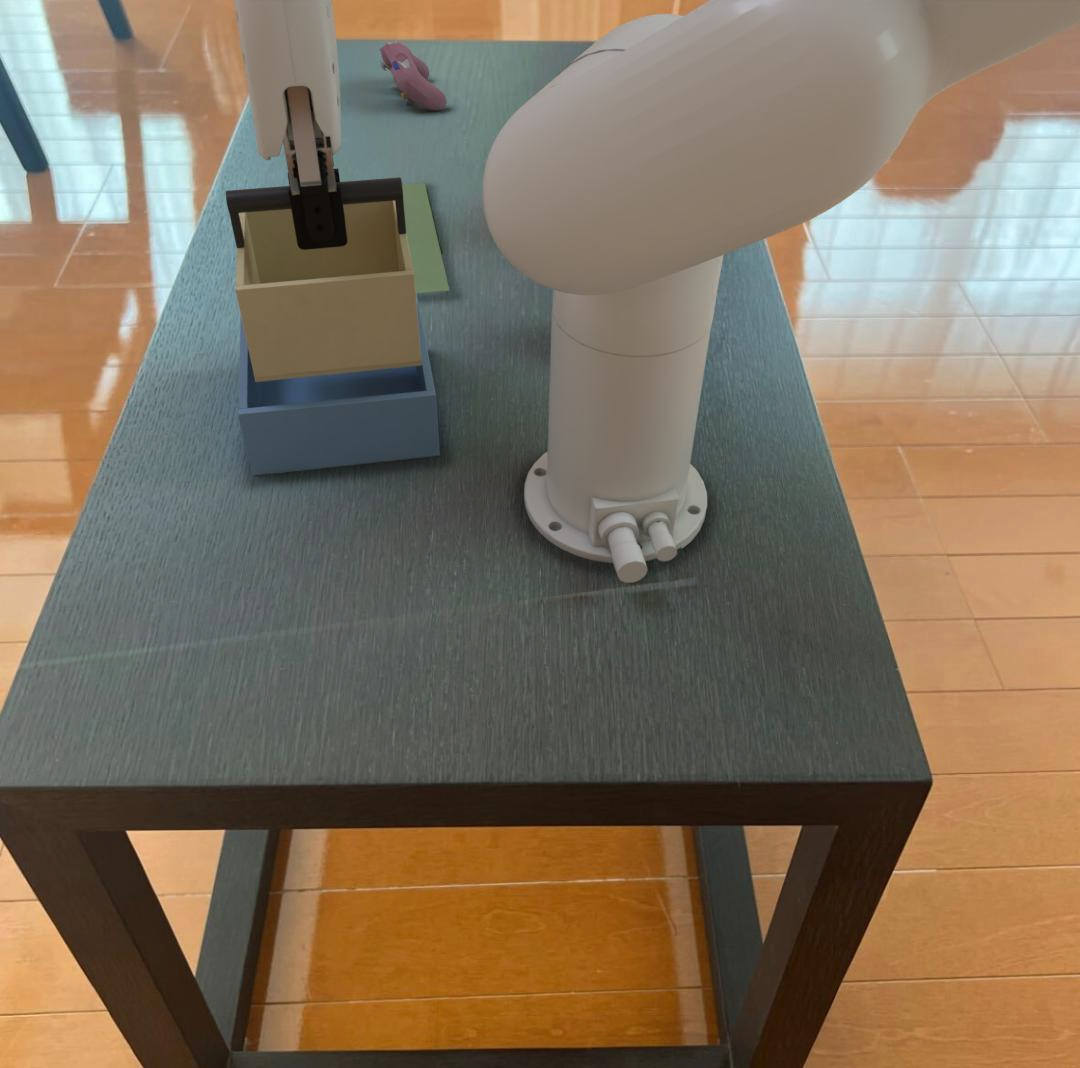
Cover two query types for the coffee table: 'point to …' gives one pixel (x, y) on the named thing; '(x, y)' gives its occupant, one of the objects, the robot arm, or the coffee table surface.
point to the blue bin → (338, 416)
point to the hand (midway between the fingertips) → (322, 236)
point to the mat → (423, 241)
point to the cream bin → (325, 285)
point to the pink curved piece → (411, 76)
